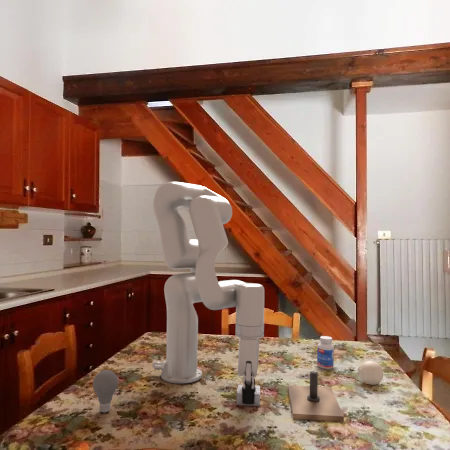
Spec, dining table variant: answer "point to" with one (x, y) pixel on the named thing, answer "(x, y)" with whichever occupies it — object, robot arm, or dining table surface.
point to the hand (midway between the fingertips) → (248, 397)
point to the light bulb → (105, 388)
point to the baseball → (370, 372)
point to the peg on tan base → (314, 402)
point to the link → (257, 396)
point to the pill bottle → (325, 353)
